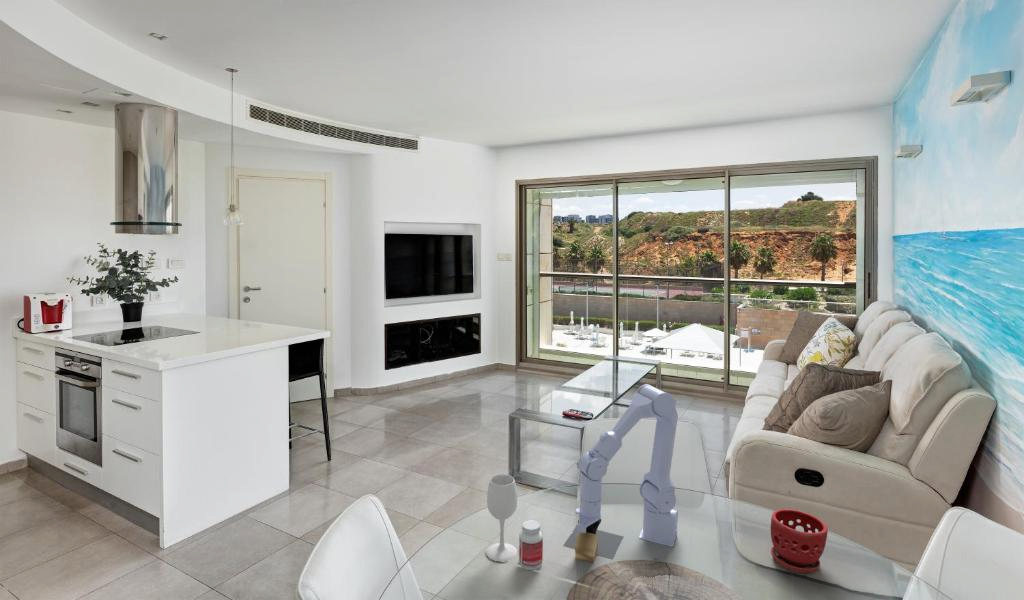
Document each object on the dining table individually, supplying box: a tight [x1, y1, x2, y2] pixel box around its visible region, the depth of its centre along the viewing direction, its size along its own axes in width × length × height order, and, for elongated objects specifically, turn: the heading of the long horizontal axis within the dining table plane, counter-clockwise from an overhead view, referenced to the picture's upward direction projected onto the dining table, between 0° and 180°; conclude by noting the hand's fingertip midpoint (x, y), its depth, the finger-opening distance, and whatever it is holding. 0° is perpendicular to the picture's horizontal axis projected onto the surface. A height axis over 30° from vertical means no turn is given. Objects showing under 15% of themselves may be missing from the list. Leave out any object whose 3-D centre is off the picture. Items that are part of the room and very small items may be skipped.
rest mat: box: [562, 524, 625, 560], centre depth 152 cm, size 14×12×1 cm
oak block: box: [574, 532, 598, 563], centre depth 145 cm, size 5×5×5 cm
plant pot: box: [770, 508, 829, 574], centre depth 143 cm, size 13×13×12 cm
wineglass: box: [485, 473, 518, 562], centre depth 145 cm, size 9×9×21 cm
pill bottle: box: [518, 519, 544, 571], centre depth 141 cm, size 6×6×11 cm
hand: (588, 544), depth 148 cm, fingers closed
